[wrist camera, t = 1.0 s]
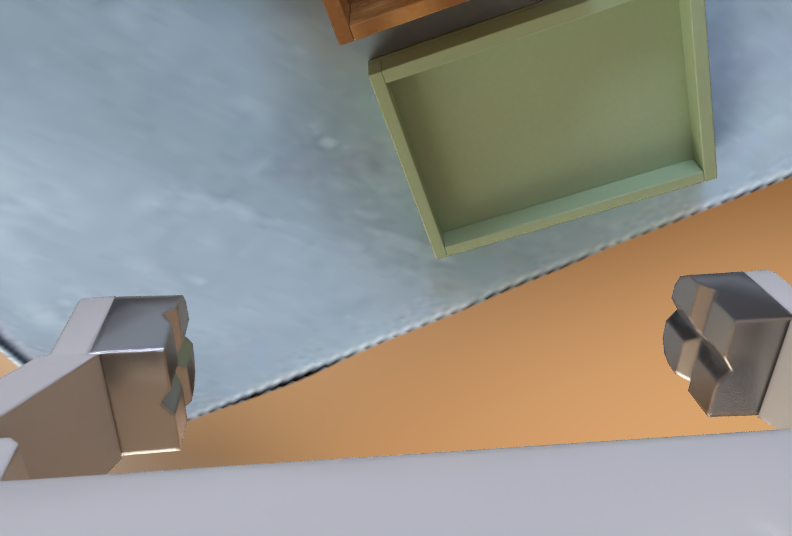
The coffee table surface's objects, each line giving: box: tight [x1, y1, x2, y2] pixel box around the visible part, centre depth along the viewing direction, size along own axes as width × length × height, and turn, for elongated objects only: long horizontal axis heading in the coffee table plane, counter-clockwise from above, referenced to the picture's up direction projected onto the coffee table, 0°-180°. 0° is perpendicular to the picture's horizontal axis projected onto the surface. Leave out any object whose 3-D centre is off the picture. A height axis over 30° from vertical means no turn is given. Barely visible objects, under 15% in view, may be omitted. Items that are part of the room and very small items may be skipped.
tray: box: [368, 0, 717, 259], centre depth 43 cm, size 19×14×2 cm
